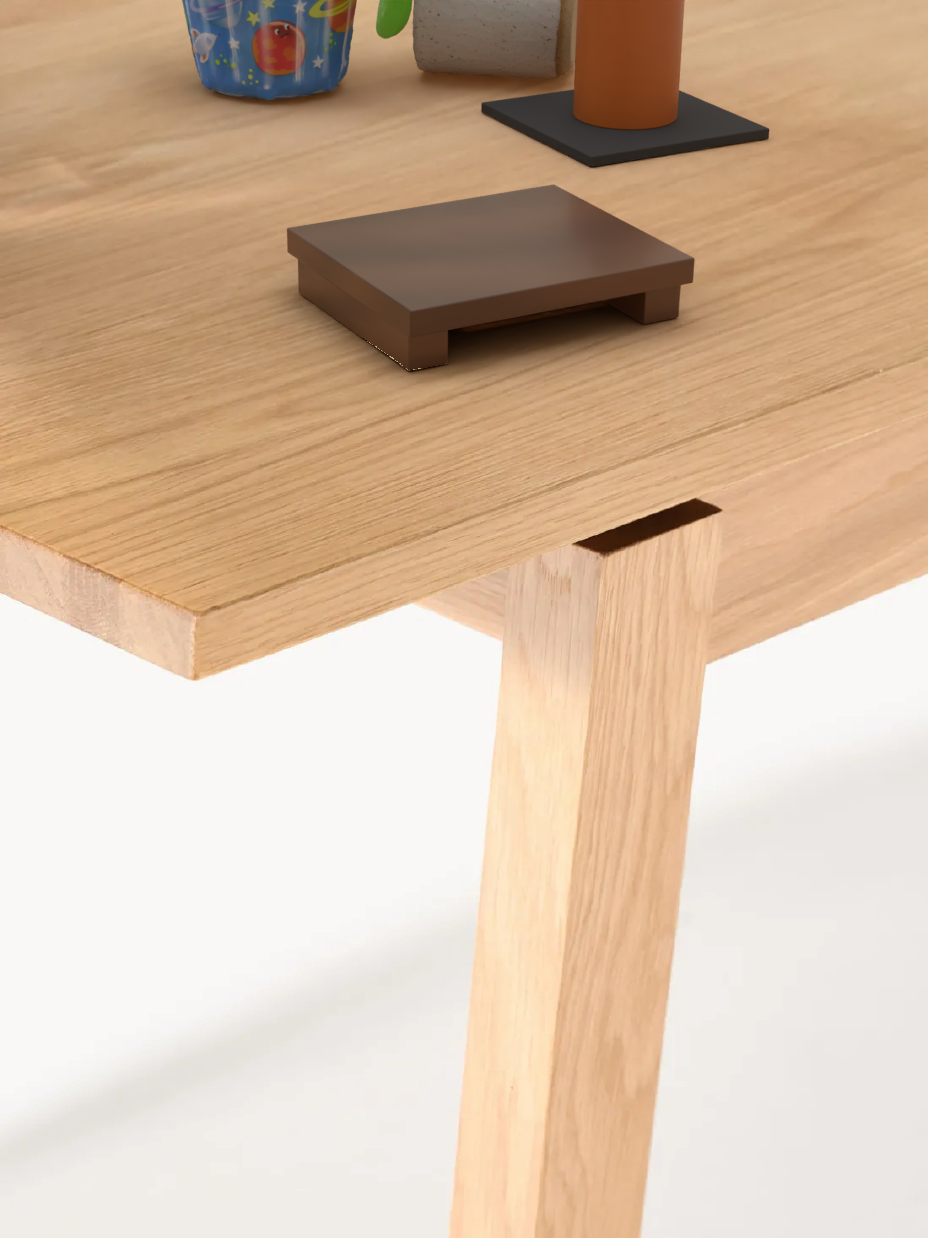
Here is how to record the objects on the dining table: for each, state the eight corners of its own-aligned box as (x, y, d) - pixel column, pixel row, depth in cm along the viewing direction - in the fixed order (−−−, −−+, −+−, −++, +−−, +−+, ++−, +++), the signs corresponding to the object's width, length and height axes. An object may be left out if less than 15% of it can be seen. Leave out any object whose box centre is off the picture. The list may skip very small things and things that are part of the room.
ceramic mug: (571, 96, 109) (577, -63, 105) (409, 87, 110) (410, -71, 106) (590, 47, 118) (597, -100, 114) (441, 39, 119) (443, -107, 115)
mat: (480, 112, 106) (481, 102, 106) (651, 87, 111) (651, 77, 110) (590, 167, 99) (591, 156, 98) (769, 138, 103) (770, 128, 103)
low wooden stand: (287, 289, 84) (286, 227, 83) (551, 242, 89) (553, 183, 88) (410, 378, 77) (410, 311, 75) (691, 321, 82) (695, 257, 81)
